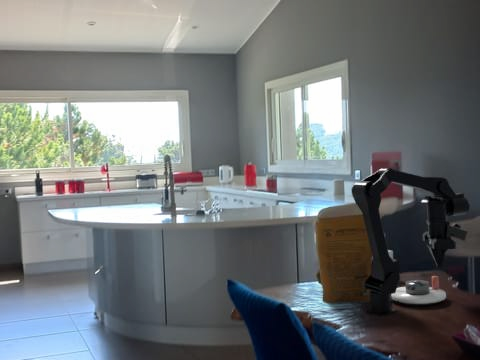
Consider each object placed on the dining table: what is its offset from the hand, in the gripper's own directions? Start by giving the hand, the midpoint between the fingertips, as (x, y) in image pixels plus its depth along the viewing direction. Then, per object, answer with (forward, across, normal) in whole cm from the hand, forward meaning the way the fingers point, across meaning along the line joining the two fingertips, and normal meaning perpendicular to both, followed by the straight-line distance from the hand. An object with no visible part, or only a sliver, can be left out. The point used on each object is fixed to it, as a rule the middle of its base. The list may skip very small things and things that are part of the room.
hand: (439, 267), depth 174 cm
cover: (+8, +1, +7) cm, 11 cm away
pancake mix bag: (+11, +2, +28) cm, 30 cm away
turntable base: (+10, +1, +7) cm, 13 cm away
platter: (+9, +1, +7) cm, 12 cm away
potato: (+11, +18, +32) cm, 38 cm away
